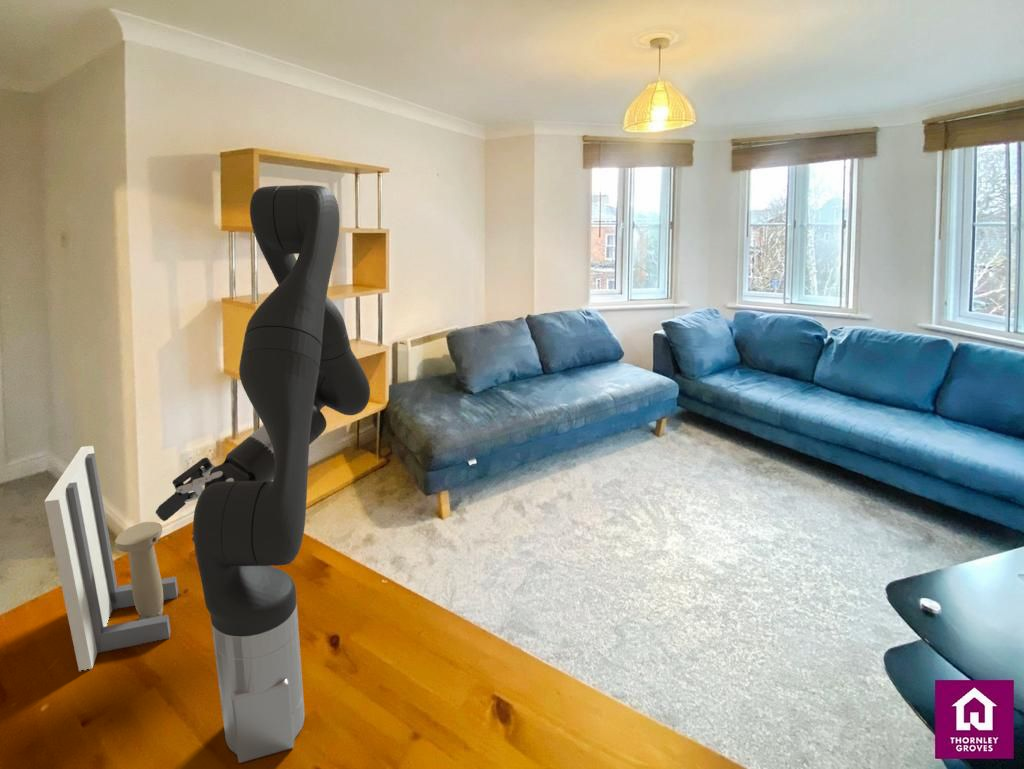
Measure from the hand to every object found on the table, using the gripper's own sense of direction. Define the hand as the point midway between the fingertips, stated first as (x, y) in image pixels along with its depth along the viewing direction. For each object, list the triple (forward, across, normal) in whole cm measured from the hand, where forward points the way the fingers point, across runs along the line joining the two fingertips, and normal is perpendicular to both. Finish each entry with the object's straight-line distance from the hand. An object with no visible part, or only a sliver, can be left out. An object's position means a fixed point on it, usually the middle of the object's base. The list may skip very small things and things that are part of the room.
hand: (177, 530), depth 84 cm
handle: (+9, -5, +17) cm, 20 cm away
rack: (+11, -7, +16) cm, 20 cm away
